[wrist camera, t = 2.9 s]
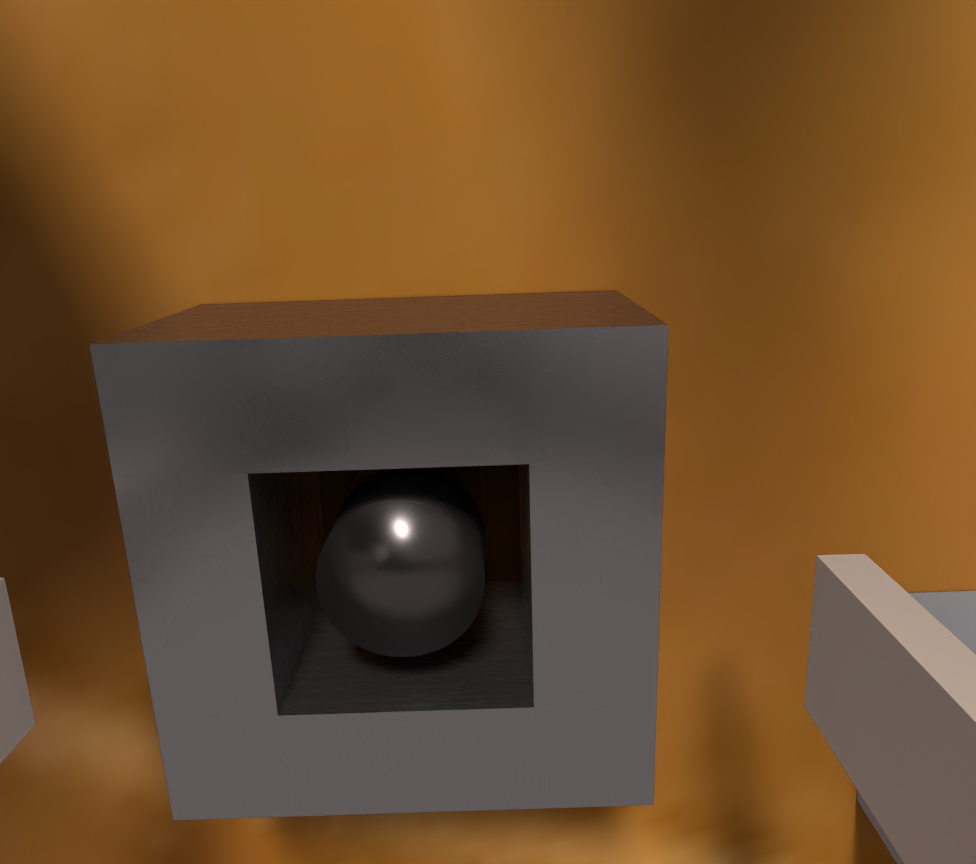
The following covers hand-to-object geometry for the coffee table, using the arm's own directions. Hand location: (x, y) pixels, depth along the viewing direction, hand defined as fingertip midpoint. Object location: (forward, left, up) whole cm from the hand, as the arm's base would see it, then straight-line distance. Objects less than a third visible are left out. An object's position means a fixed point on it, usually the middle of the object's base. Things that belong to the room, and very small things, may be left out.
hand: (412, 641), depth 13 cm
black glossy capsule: (0, 0, -6) cm, 6 cm away
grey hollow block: (0, 0, -6) cm, 6 cm away
